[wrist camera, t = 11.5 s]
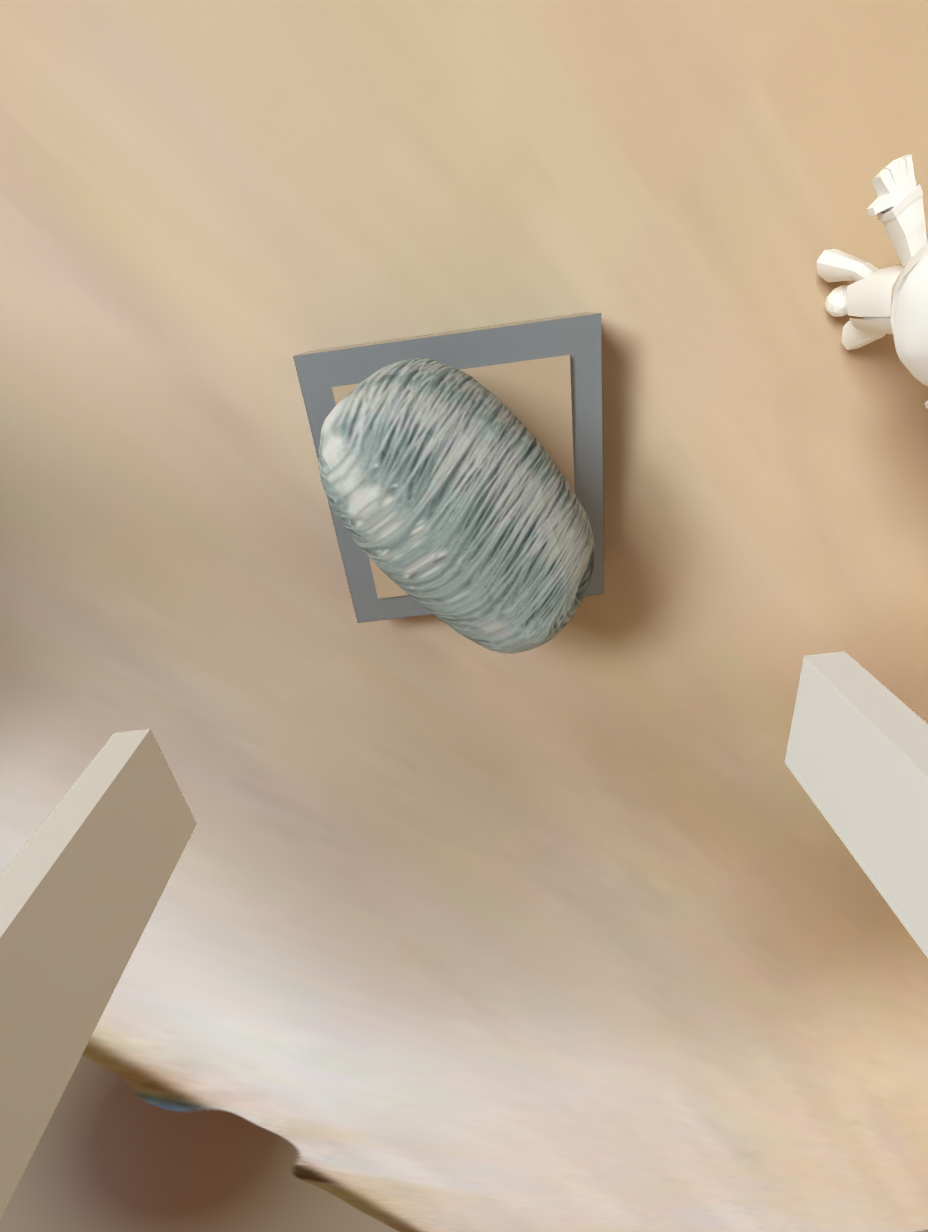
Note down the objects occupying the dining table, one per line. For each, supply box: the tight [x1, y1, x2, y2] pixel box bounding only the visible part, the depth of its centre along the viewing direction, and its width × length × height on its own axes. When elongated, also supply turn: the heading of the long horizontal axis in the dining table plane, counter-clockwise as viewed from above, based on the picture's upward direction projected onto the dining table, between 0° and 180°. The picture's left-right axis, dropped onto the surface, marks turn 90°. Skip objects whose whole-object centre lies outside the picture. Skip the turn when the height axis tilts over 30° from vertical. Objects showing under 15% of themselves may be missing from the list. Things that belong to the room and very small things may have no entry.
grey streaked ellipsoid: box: [319, 358, 595, 654], centre depth 25 cm, size 14×10×10 cm
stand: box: [293, 313, 604, 623], centre depth 30 cm, size 14×14×3 cm
